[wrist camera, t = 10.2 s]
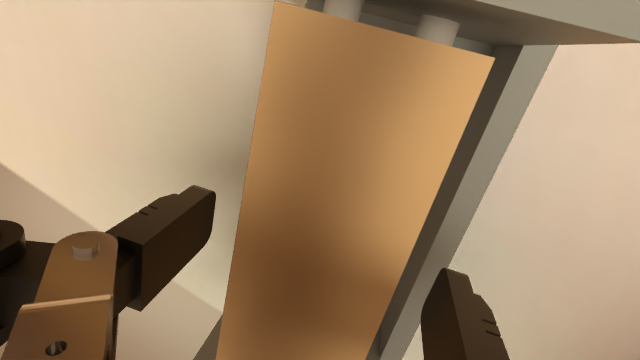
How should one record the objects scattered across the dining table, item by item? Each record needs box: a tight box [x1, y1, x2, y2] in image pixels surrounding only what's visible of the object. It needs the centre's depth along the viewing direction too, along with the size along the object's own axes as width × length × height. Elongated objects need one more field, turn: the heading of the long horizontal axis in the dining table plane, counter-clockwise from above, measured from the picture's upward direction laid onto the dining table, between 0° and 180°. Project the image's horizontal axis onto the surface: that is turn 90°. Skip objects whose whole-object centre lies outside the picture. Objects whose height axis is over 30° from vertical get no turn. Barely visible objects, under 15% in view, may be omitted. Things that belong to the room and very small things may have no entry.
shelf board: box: [216, 0, 495, 360], centre depth 12 cm, size 5×14×3 cm, turn 165°
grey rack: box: [193, 0, 640, 360], centre depth 14 cm, size 10×18×11 cm, turn 165°
